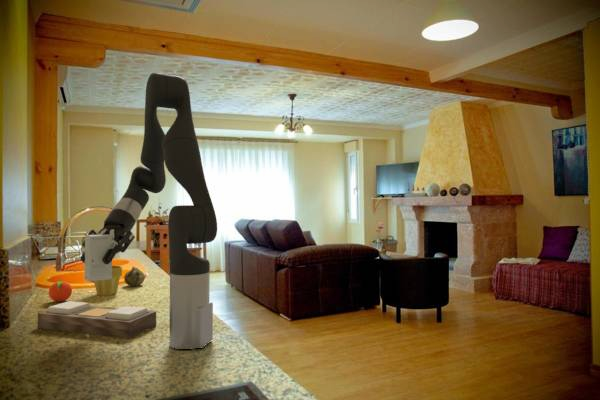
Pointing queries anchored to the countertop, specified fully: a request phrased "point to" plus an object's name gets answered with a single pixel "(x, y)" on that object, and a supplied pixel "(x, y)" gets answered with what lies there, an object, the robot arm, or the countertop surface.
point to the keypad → (96, 323)
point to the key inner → (127, 313)
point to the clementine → (60, 291)
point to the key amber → (96, 312)
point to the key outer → (68, 307)
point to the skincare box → (97, 257)
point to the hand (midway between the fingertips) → (94, 261)
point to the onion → (134, 277)
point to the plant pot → (109, 282)
